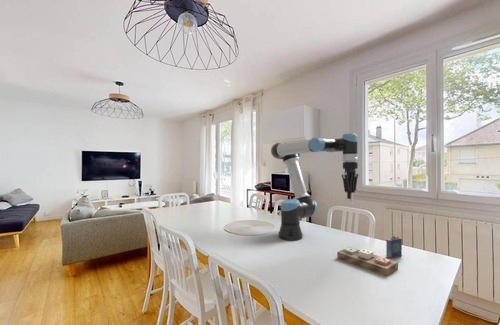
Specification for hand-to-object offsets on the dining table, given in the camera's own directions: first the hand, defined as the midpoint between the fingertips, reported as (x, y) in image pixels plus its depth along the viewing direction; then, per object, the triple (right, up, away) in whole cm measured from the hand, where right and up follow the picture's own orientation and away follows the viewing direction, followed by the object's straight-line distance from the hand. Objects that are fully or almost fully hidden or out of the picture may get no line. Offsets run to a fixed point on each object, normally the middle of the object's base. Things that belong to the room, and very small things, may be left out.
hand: (350, 204), depth 127 cm
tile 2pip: (-1, -21, -19) cm, 28 cm away
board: (-1, -24, -19) cm, 31 cm away
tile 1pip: (-5, -23, -13) cm, 27 cm away
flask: (+17, -25, -11) cm, 32 cm away
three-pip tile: (+4, -23, -25) cm, 34 cm away
